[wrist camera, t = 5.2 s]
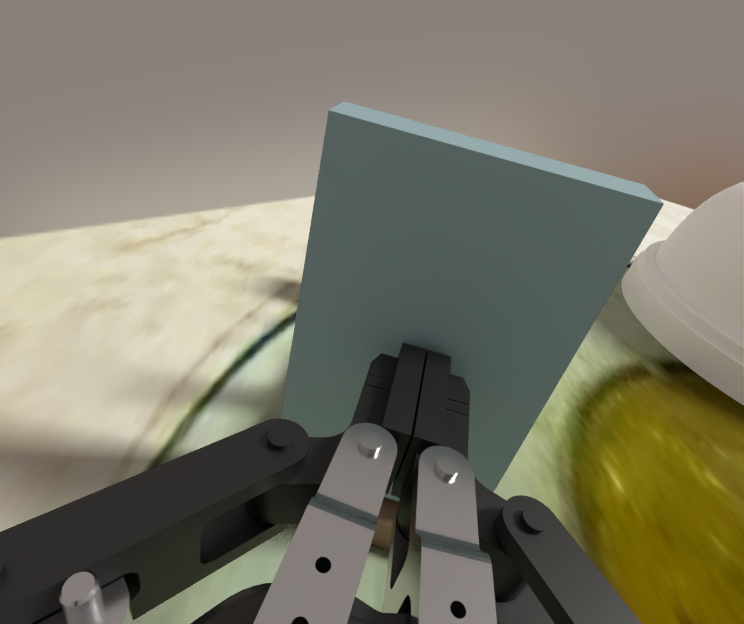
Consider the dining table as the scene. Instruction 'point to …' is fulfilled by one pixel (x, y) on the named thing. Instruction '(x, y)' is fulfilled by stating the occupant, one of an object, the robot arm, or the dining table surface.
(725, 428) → the dining table surface
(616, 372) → the dining table surface
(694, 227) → the dome cover
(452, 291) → the blue-grey rectangular panel
